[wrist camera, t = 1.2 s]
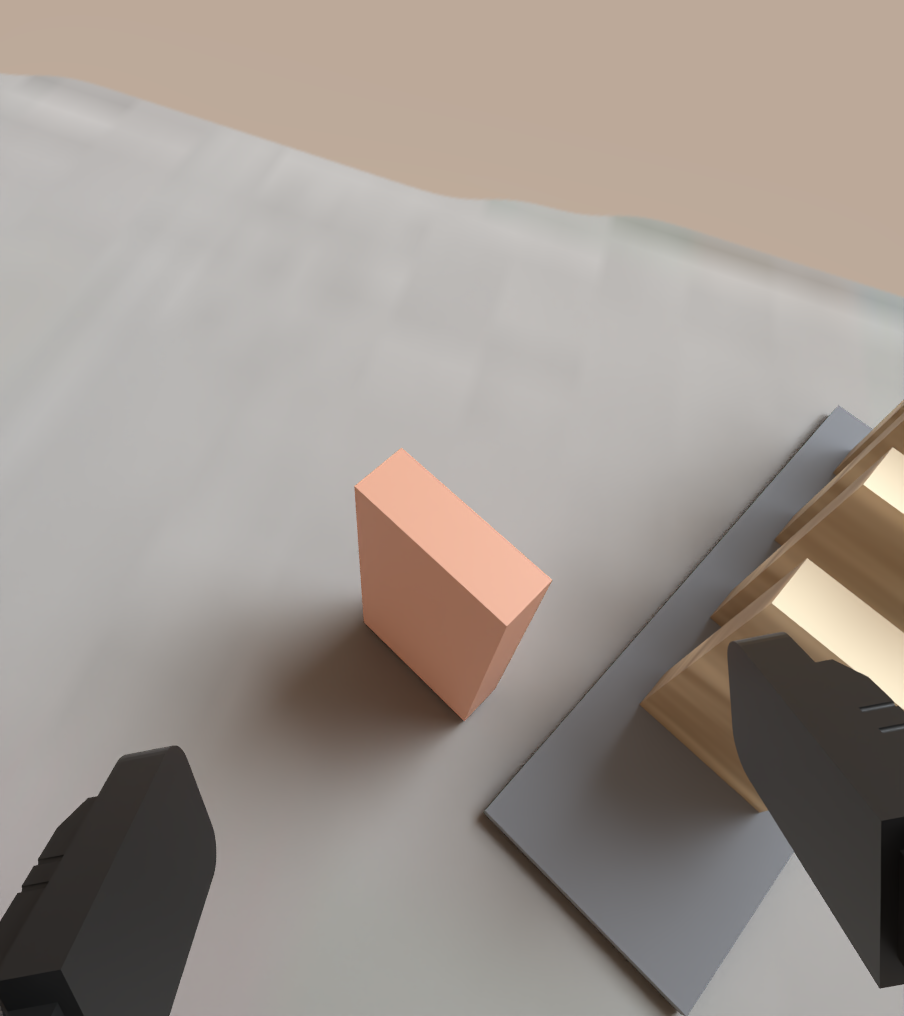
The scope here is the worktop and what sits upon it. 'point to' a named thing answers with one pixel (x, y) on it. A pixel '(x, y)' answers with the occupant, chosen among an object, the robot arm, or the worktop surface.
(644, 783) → the mat
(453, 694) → the terracotta domino
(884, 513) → the maple domino
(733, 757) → the maple domino
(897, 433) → the maple domino
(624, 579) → the worktop surface
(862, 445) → the maple domino
